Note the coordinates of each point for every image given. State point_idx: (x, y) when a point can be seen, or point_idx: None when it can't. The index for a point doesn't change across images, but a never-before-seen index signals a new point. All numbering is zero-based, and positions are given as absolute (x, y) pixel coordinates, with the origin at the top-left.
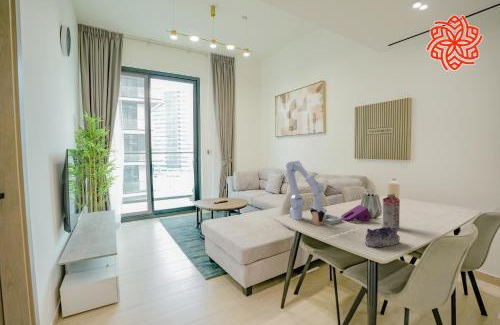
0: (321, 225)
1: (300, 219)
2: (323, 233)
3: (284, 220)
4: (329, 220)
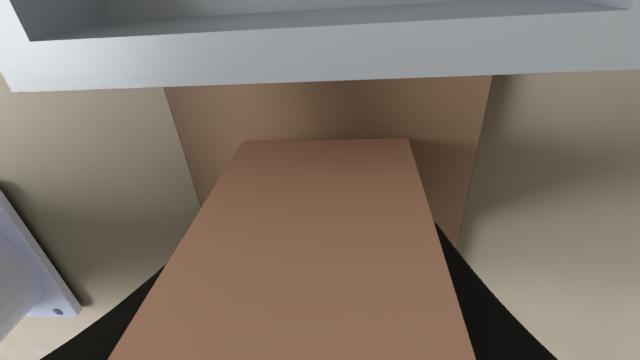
0: (458, 231)
1: (27, 274)
2: (629, 347)
3: (10, 356)
4: (610, 32)
